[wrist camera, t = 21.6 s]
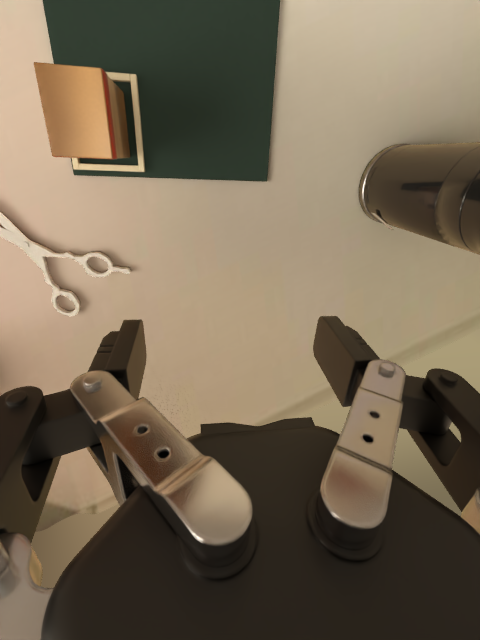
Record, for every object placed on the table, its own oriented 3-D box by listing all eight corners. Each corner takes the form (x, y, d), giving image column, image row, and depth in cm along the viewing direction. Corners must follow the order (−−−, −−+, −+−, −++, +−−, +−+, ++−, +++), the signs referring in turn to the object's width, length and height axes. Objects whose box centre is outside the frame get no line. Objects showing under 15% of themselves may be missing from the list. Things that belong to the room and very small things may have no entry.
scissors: (81, 326, 43) (-87, 220, 34) (82, 324, 44) (-82, 218, 35) (131, 271, 41) (-35, 142, 32) (131, 269, 42) (-31, 142, 33)
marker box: (123, 91, 33) (101, 67, 24) (130, 158, 35) (112, 159, 26) (75, 88, 32) (32, 61, 23) (86, 156, 35) (51, 156, 26)
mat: (282, -49, 30) (286, -57, 29) (266, 181, 39) (268, 181, 38) (28, -88, 27) (21, -99, 26) (75, 174, 36) (71, 175, 35)
